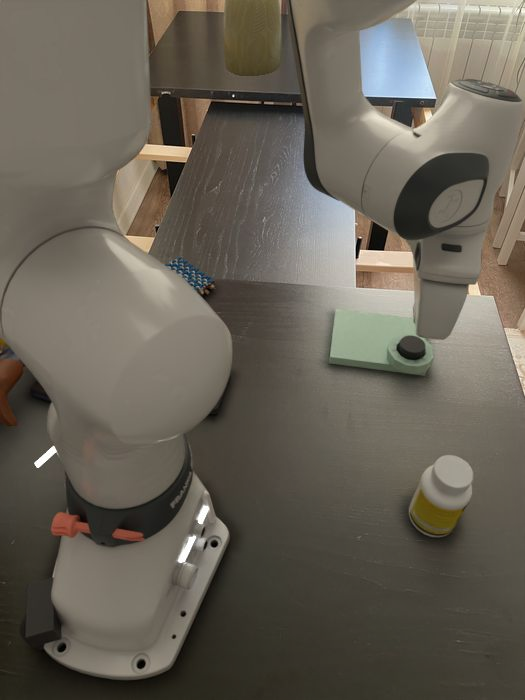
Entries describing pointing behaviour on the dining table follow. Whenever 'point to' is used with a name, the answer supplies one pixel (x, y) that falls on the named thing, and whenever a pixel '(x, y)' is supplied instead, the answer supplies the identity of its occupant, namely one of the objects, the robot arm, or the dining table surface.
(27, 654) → the dining table surface
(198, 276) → the woven mat
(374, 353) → the scale
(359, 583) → the dining table surface
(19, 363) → the figurine
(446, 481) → the supplement bottle
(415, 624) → the dining table surface
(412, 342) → the tare button
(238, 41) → the vase
